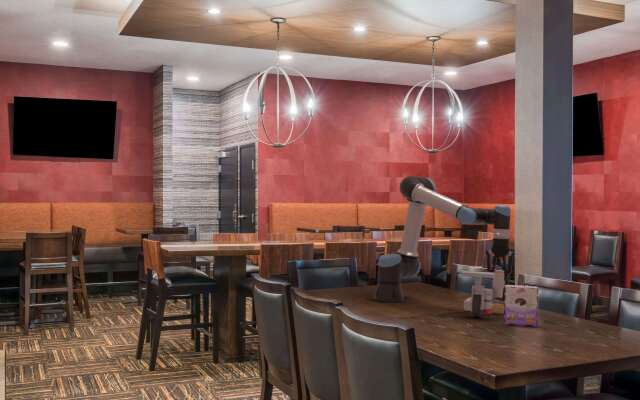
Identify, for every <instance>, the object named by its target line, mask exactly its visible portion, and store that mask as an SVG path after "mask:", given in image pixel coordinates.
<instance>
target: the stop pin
mask: <svg viewBox="0 0 640 400" xmlns="http://www.w3.org/2000/svg"><path fill="white" fill-rule="evenodd" d="M494 273H495V277H494V287H493V295H492V298H499V299H502V298H503V292H504V290H503V289H504V288H502V276H503V274H504V271H501V270H500V271H499V270H498V271H497V270H496V271H494Z"/></svg>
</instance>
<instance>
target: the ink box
mask: <svg viewBox="0 0 640 400" xmlns="http://www.w3.org/2000/svg"><path fill="white" fill-rule="evenodd" d="M475 294H478V295H481V289H480V288H475ZM493 296H494V289H490V288H485V287H484V309H483V310H482V315H481V316H490V315H491V316H492V315H493V313H492V304H493ZM470 313H471V314H472V308H471V311H470Z"/></svg>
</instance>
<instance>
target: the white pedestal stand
mask: <svg viewBox="0 0 640 400" xmlns="http://www.w3.org/2000/svg"><path fill="white" fill-rule="evenodd" d="M461 276H462V277H474V278H475V279H474V284H473V285H471V298H472V301H471V308H472V313H471V314H472V317H473V318H475V317H476V318H482V316H483V315H482V310H483V309H484V288H485V285H482V284H483V283H482V281H483V278H485V279H486V278H488V279H491V278H493V277H495V272H494V273H491V272H489V271H471V270H462V271H460V277H461ZM475 288H480V289H481V295H478V294H475Z"/></svg>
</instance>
